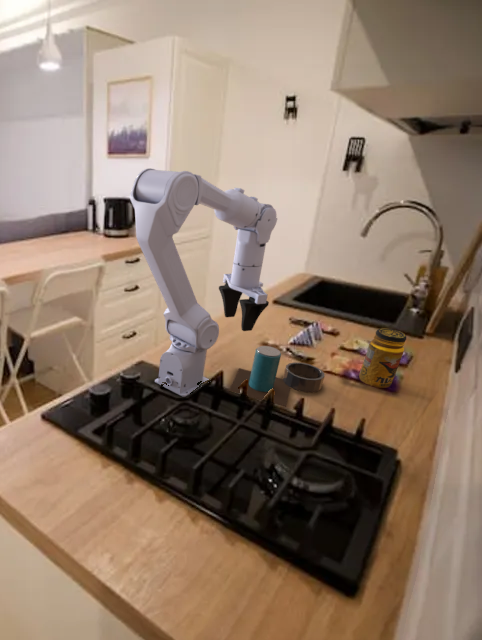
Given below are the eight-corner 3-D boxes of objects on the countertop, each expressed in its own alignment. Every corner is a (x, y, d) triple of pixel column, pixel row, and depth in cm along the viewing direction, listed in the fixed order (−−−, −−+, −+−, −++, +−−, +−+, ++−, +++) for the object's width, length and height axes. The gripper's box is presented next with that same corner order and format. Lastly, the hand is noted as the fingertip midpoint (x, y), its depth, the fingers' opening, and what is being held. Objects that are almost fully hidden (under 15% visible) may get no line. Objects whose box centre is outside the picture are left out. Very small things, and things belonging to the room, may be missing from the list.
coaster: (285, 409, 79) (286, 406, 78) (227, 393, 83) (228, 391, 83) (291, 383, 87) (291, 380, 87) (238, 370, 92) (239, 368, 92)
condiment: (393, 394, 84) (413, 342, 79) (346, 383, 87) (363, 333, 82) (390, 379, 89) (409, 329, 84) (346, 369, 93) (362, 321, 88)
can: (265, 394, 82) (274, 358, 78) (244, 385, 85) (251, 350, 82) (277, 386, 85) (285, 351, 81) (256, 377, 88) (263, 343, 85)
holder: (311, 398, 82) (315, 383, 80) (276, 383, 87) (279, 369, 85) (326, 386, 86) (330, 371, 85) (291, 372, 91) (295, 359, 90)
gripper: (286, 271, 78) (273, 335, 84) (246, 253, 91) (237, 309, 97) (252, 274, 77) (241, 338, 83) (217, 255, 90) (210, 312, 96)
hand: (237, 323), depth 90 cm, fingers open, 7 cm apart
